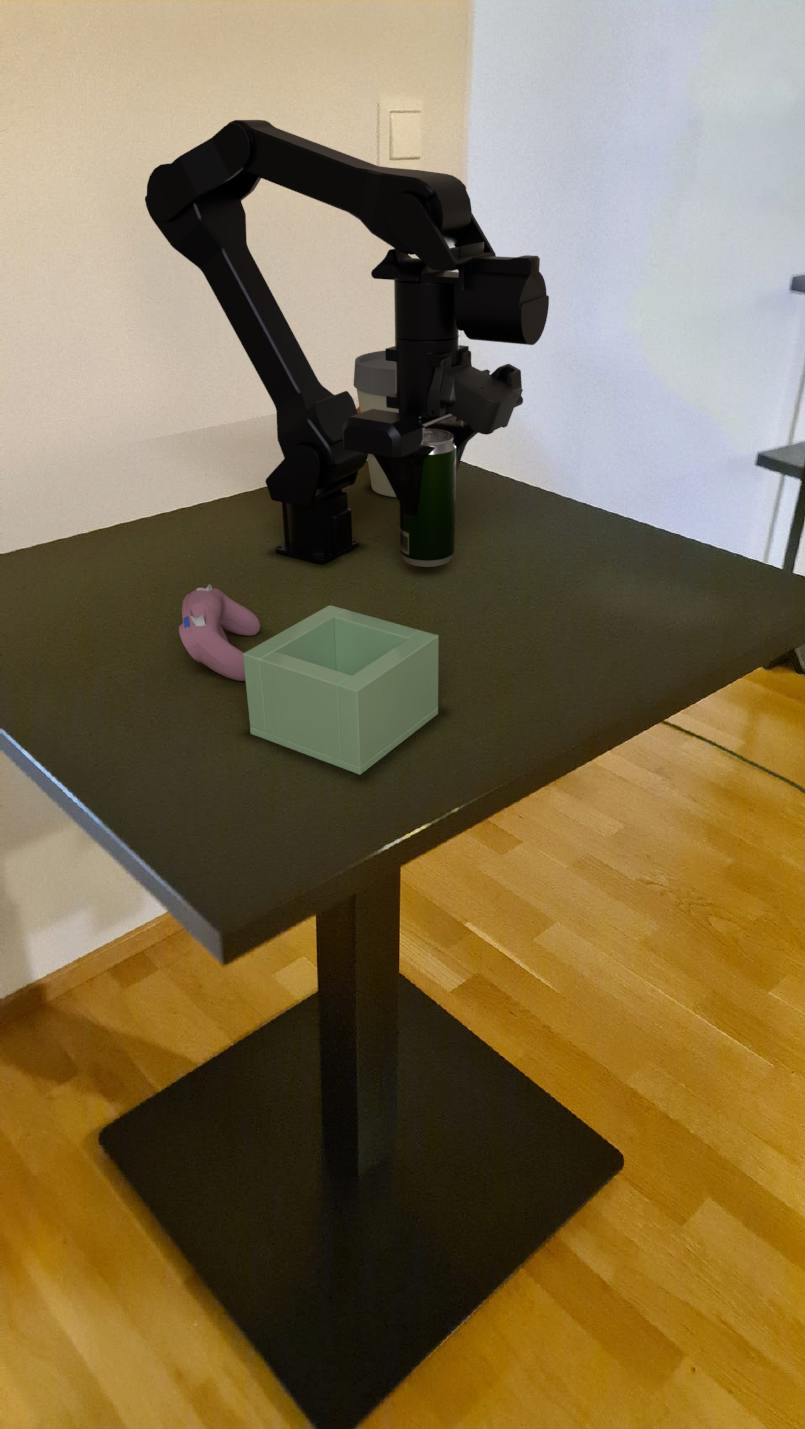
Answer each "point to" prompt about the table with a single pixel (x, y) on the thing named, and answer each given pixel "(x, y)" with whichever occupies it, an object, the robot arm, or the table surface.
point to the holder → (342, 686)
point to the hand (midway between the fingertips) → (426, 506)
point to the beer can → (432, 506)
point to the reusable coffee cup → (375, 402)
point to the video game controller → (216, 630)
